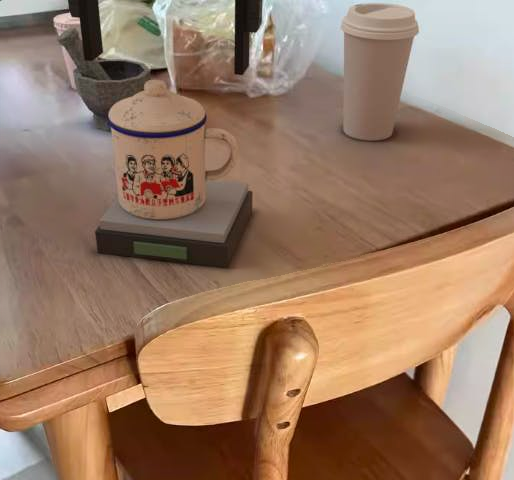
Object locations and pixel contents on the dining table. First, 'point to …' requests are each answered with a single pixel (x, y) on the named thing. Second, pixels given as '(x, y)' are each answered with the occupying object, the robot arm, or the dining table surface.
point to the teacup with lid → (163, 153)
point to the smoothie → (63, 24)
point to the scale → (181, 229)
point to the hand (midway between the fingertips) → (166, 63)
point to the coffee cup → (375, 66)
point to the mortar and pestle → (103, 79)
